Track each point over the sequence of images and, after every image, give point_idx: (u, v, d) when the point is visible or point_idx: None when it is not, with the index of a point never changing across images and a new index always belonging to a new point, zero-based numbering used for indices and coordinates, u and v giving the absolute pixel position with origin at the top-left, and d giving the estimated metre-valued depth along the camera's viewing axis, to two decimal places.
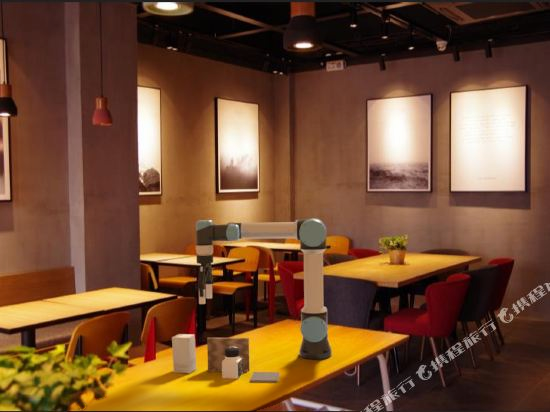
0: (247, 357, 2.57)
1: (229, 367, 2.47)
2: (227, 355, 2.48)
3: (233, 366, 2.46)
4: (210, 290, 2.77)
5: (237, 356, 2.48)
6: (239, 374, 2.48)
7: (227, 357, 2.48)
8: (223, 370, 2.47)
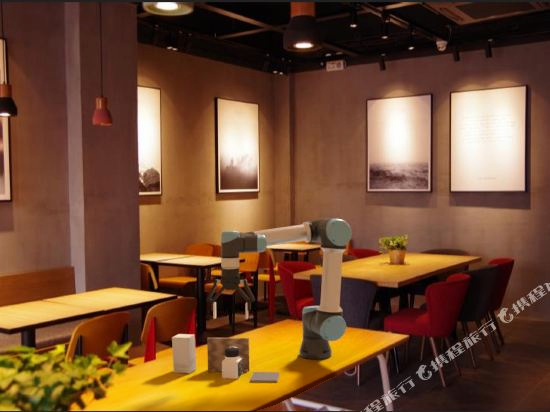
0: (247, 357, 2.57)
1: (229, 367, 2.47)
2: (227, 355, 2.48)
3: (233, 366, 2.46)
4: None
5: (237, 356, 2.48)
6: (239, 374, 2.48)
7: (227, 357, 2.48)
8: (223, 370, 2.47)
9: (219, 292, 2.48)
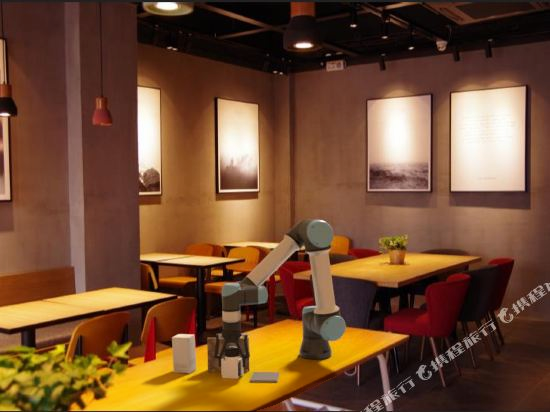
0: None
1: (229, 367, 2.47)
2: (227, 355, 2.48)
3: (233, 366, 2.46)
4: None
5: (237, 356, 2.48)
6: (239, 374, 2.48)
7: (227, 357, 2.48)
8: (223, 370, 2.47)
9: (224, 347, 2.49)
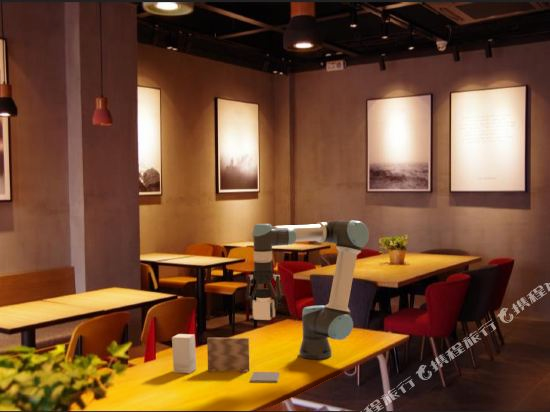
0: (247, 357, 2.57)
1: (261, 308, 2.43)
2: (259, 296, 2.44)
3: (265, 307, 2.42)
4: None
5: (269, 297, 2.44)
6: (271, 315, 2.44)
7: (259, 298, 2.44)
8: (255, 311, 2.43)
9: (255, 288, 2.45)
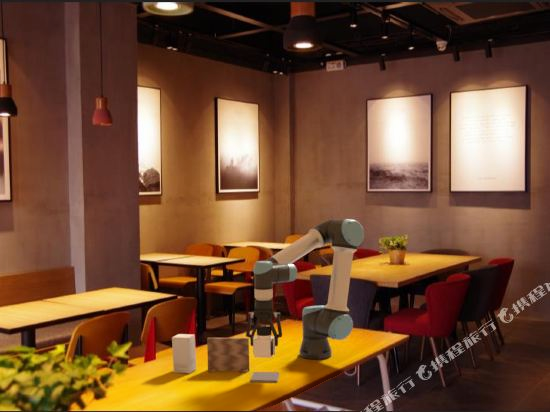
0: (247, 357, 2.57)
1: (262, 346, 2.43)
2: (259, 334, 2.44)
3: (266, 345, 2.43)
4: (273, 345, 2.45)
5: (269, 335, 2.45)
6: (271, 353, 2.44)
7: (259, 336, 2.44)
8: (255, 349, 2.44)
9: (256, 325, 2.45)
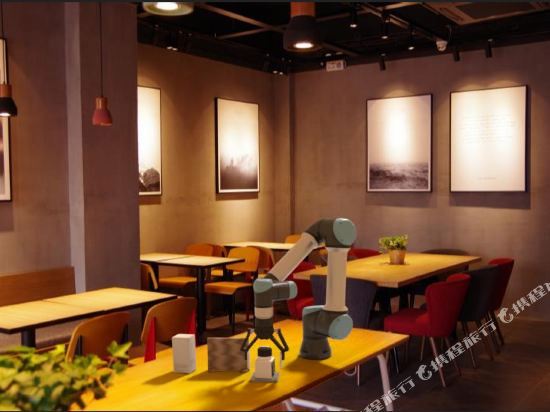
0: None
1: (263, 367, 2.43)
2: (260, 355, 2.44)
3: (267, 366, 2.43)
4: None
5: (270, 356, 2.45)
6: (272, 374, 2.44)
7: (260, 357, 2.44)
8: (256, 370, 2.44)
9: (253, 342, 2.46)
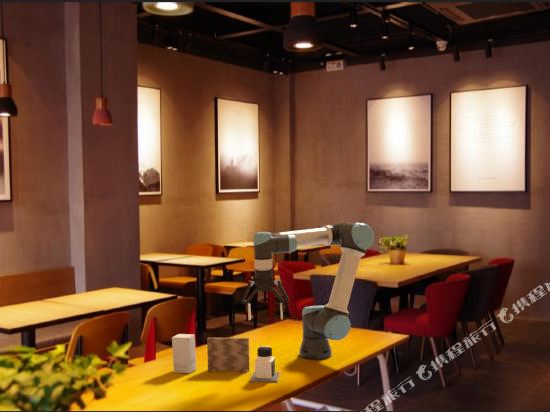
0: (247, 357, 2.57)
1: (263, 367, 2.43)
2: (260, 355, 2.44)
3: (267, 366, 2.43)
4: None
5: (270, 356, 2.45)
6: (272, 374, 2.44)
7: (260, 357, 2.44)
8: (256, 370, 2.44)
9: (253, 293, 2.50)
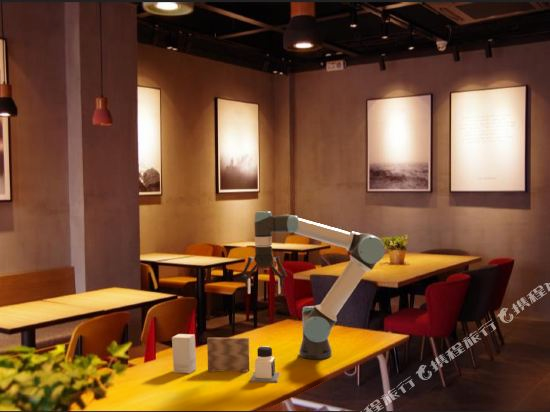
0: (247, 357, 2.57)
1: (263, 367, 2.43)
2: (260, 355, 2.44)
3: (267, 366, 2.43)
4: (278, 285, 2.65)
5: (270, 356, 2.45)
6: (272, 374, 2.44)
7: (260, 357, 2.44)
8: (256, 370, 2.44)
9: (253, 269, 2.65)
